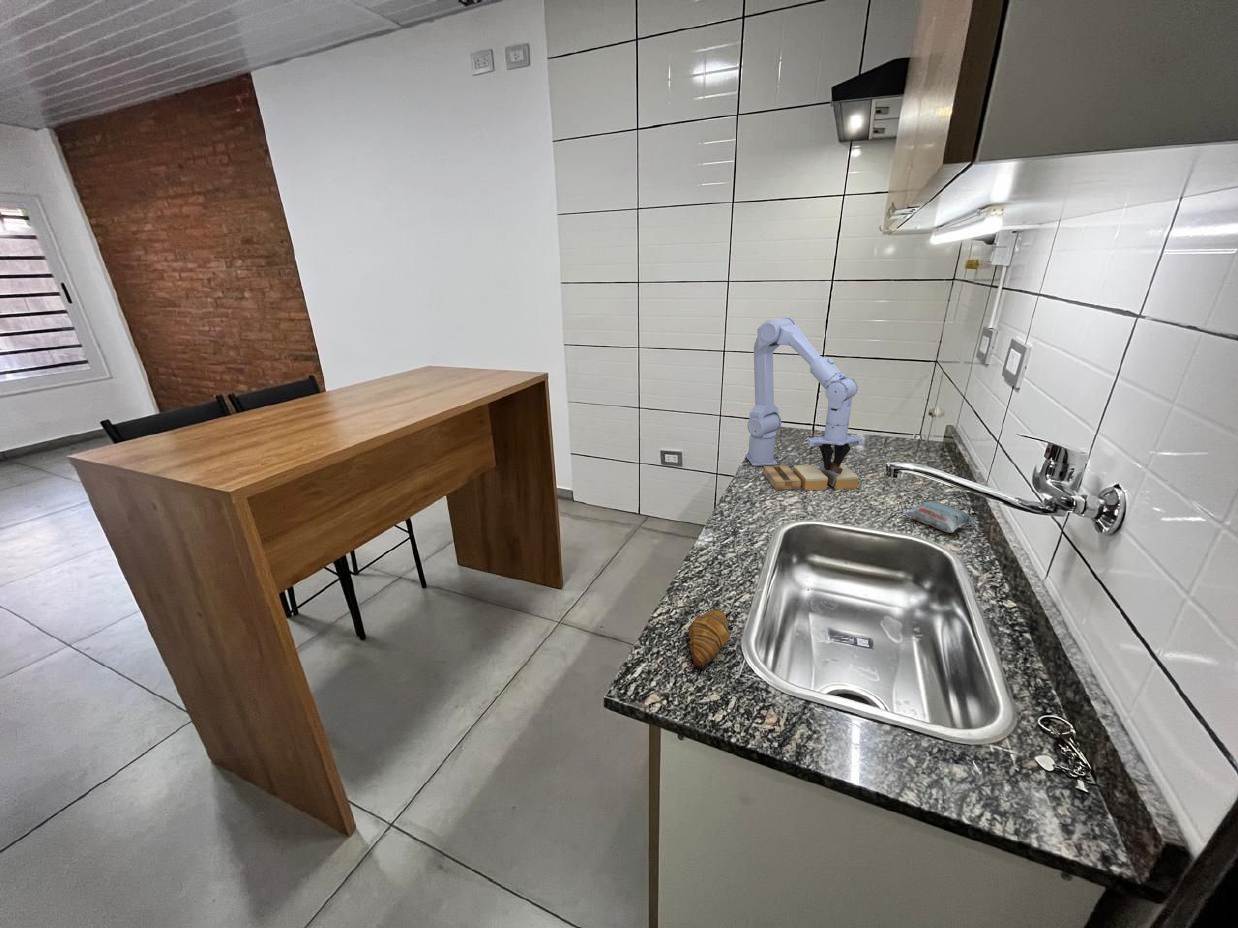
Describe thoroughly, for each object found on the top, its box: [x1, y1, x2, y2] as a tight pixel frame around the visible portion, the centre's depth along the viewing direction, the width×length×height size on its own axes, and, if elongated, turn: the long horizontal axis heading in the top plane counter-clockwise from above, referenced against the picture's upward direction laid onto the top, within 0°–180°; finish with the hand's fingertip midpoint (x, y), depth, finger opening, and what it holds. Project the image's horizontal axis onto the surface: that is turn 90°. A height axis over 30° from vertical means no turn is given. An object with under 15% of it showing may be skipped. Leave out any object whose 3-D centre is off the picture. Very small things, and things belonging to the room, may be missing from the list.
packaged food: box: [902, 500, 976, 534], centre depth 112 cm, size 9×12×5 cm
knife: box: [818, 457, 843, 488], centre depth 137 cm, size 10×2×6 cm, turn 0°
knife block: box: [762, 464, 802, 491], centre depth 140 cm, size 12×7×2 cm, turn 1°
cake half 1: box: [792, 464, 828, 491], centre depth 138 cm, size 10×6×4 cm, turn 1°
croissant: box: [688, 609, 731, 670], centre depth 79 cm, size 14×7×5 cm, turn 155°
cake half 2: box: [833, 463, 859, 490], centre depth 137 cm, size 10×6×4 cm, turn 0°
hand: (831, 469), depth 137 cm, fingers closed on knife, 2 cm apart
